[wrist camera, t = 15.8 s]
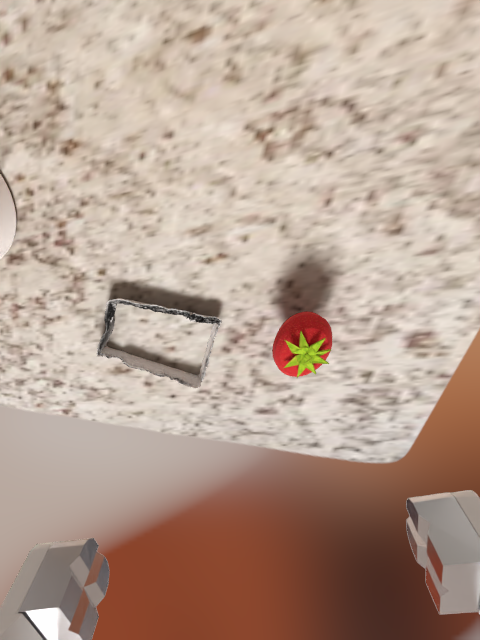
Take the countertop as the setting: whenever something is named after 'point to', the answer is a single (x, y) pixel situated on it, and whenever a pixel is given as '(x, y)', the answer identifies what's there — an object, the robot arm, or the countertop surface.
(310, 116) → the countertop surface
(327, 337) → the strawberry
